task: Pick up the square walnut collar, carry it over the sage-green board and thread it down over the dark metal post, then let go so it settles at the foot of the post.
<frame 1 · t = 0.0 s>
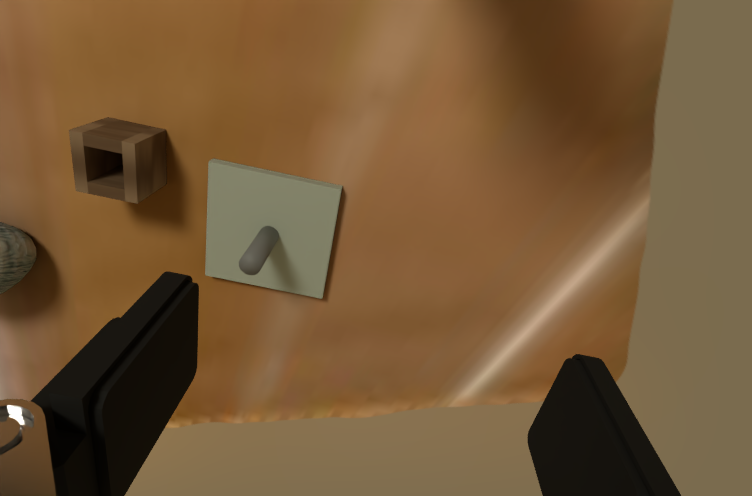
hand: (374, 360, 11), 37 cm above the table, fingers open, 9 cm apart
collar: (138, 151, 48), on the table
post board: (272, 230, 51), on the table
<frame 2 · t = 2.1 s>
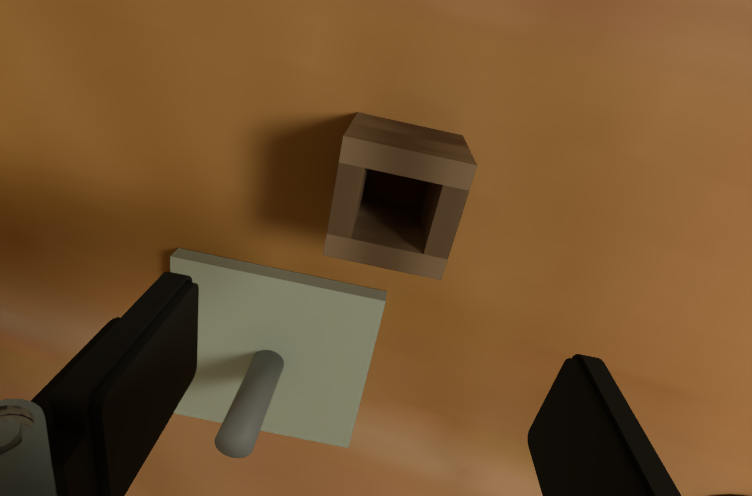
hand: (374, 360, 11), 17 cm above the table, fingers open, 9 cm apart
collar: (398, 174, 26), on the table
post board: (273, 351, 33), on the table
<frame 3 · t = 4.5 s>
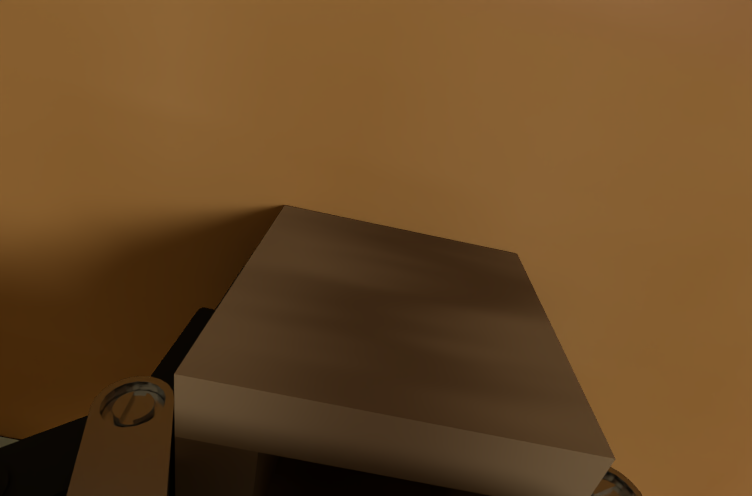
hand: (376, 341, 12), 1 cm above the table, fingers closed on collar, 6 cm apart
collar: (378, 323, 13), on the table, touching gripper
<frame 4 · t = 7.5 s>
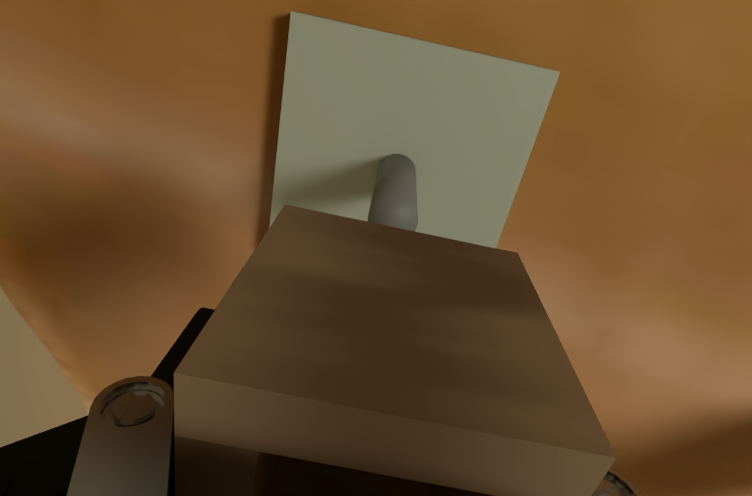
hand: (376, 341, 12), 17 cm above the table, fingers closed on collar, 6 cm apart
collar: (378, 323, 13), point 16 cm above the table, touching gripper
post board: (397, 166, 27), on the table
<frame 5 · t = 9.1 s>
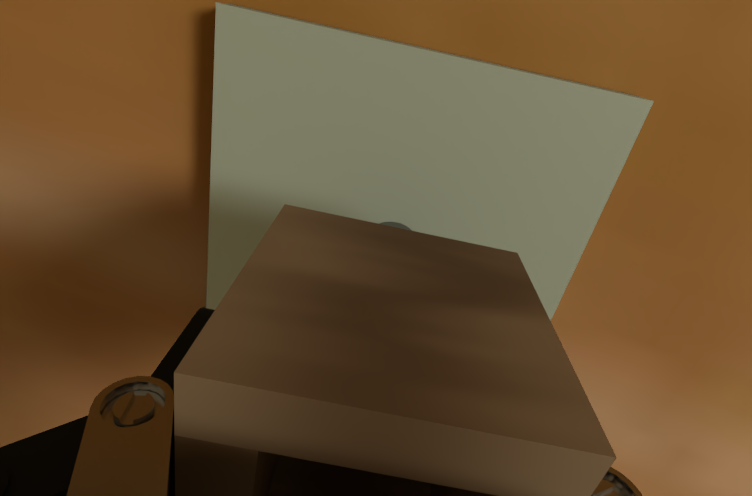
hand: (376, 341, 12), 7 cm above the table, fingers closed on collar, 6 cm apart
collar: (378, 323, 13), point 6 cm above the table, touching gripper
post board: (391, 234, 18), on the table
when the fingers open (4 cm above the table, at t = 10.6 s): collar drops 2 cm, resting on post board.
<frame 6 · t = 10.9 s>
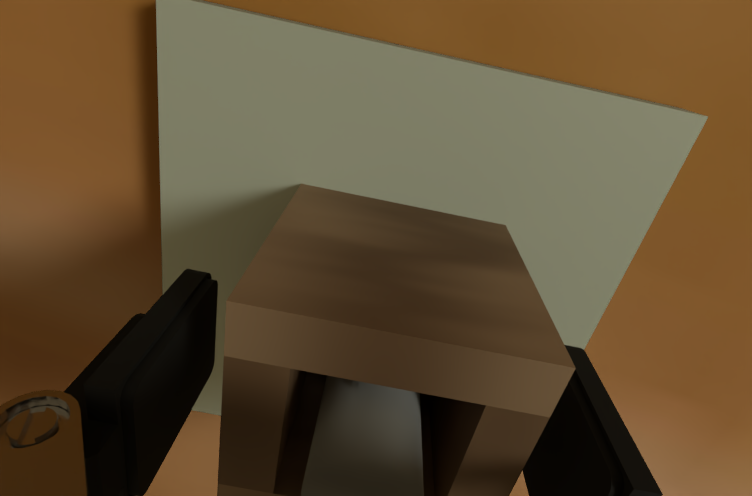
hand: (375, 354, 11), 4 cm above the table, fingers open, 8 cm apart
collar: (383, 290, 14), point 1 cm above the table, touching post board
post board: (382, 271, 15), on the table
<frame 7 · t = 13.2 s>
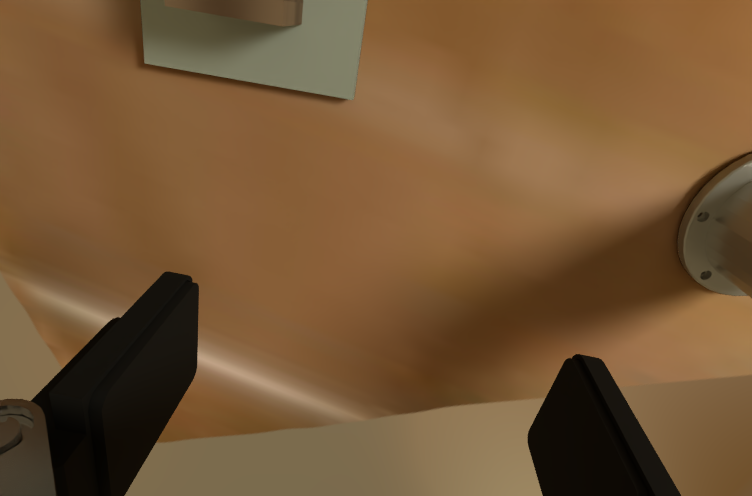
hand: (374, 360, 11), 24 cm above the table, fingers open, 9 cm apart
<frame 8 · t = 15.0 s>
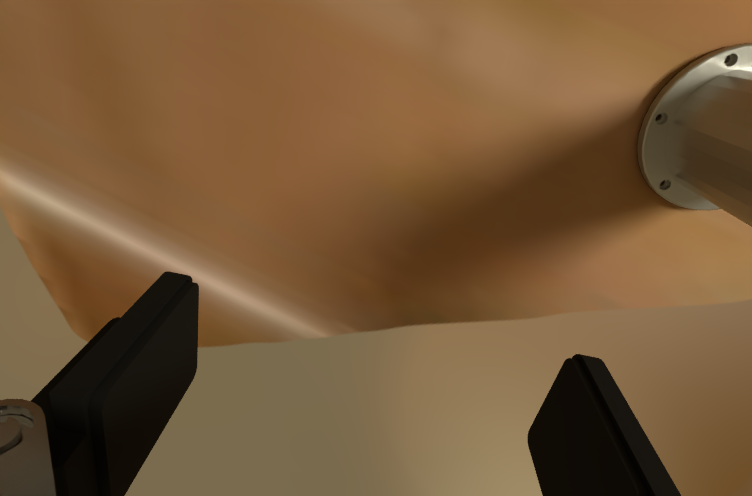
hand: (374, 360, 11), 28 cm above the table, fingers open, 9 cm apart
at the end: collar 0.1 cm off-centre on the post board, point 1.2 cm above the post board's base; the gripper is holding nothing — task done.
